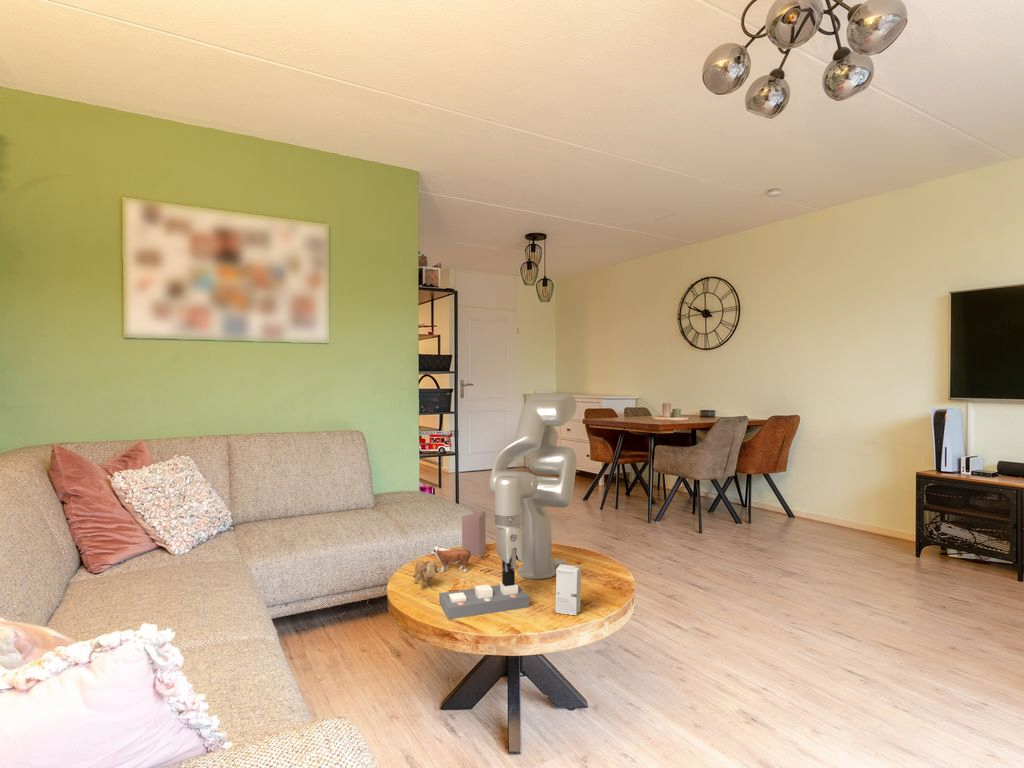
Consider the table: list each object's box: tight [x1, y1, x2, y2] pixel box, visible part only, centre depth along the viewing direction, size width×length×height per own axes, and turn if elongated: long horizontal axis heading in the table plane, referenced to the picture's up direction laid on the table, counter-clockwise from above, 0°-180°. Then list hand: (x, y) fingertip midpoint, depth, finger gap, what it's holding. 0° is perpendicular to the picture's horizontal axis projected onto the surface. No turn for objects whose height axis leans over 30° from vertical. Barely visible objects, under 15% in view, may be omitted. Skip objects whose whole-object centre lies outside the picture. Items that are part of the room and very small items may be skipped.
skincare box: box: [555, 564, 582, 616], centre depth 153 cm, size 6×4×12 cm
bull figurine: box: [431, 545, 472, 574], centre depth 186 cm, size 4×13×8 cm, turn 84°
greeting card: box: [461, 510, 487, 562], centre depth 201 cm, size 11×7×15 cm, turn 136°
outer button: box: [449, 592, 466, 603], centre depth 156 cm, size 4×4×4 cm
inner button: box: [499, 582, 518, 595], centre depth 160 cm, size 4×4×4 cm
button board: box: [438, 582, 530, 620], centre depth 158 cm, size 23×11×3 cm, turn 109°
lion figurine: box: [413, 559, 442, 591], centre depth 174 cm, size 15×5×9 cm, turn 36°
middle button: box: [474, 583, 493, 599], centre depth 158 cm, size 4×4×4 cm
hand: (508, 584), depth 160 cm, fingers closed
